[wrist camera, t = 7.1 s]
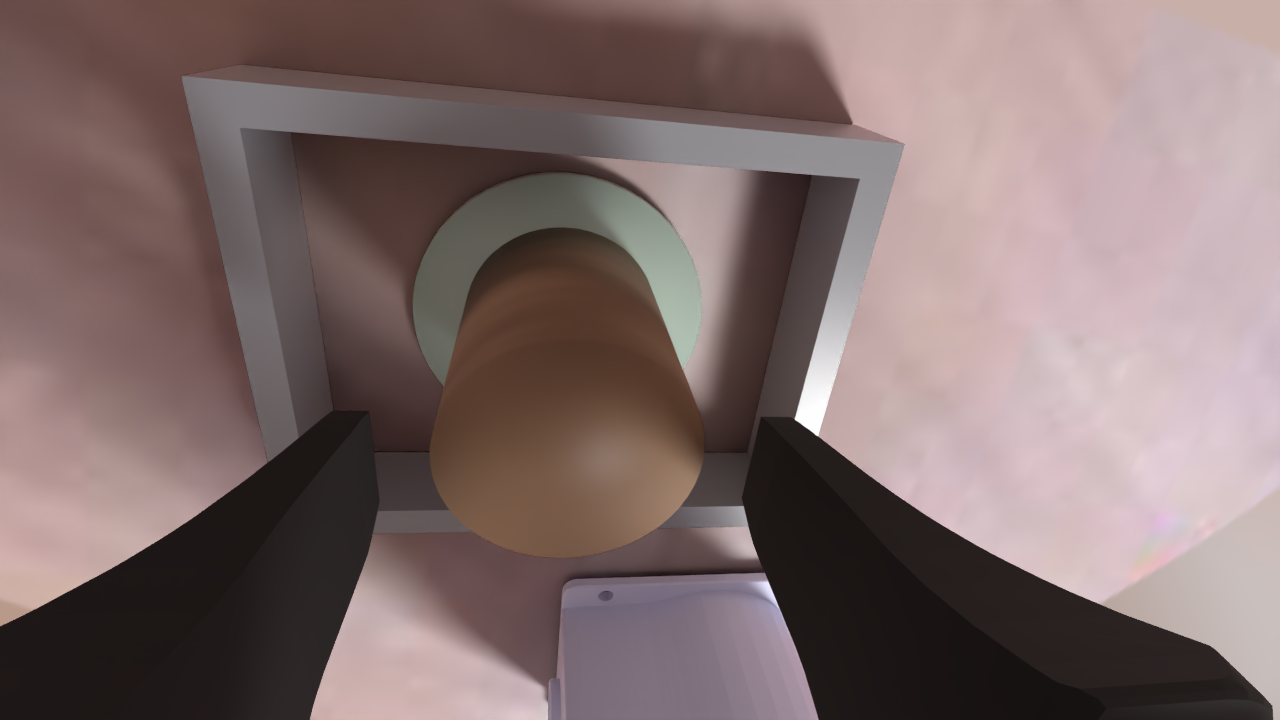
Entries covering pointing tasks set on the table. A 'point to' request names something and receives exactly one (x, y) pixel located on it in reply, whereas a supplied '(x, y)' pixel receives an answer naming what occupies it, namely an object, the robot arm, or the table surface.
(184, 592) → the robot arm
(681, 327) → the coaster
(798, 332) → the grey rectangular frame
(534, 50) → the table surface
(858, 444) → the table surface
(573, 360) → the walnut cylinder
